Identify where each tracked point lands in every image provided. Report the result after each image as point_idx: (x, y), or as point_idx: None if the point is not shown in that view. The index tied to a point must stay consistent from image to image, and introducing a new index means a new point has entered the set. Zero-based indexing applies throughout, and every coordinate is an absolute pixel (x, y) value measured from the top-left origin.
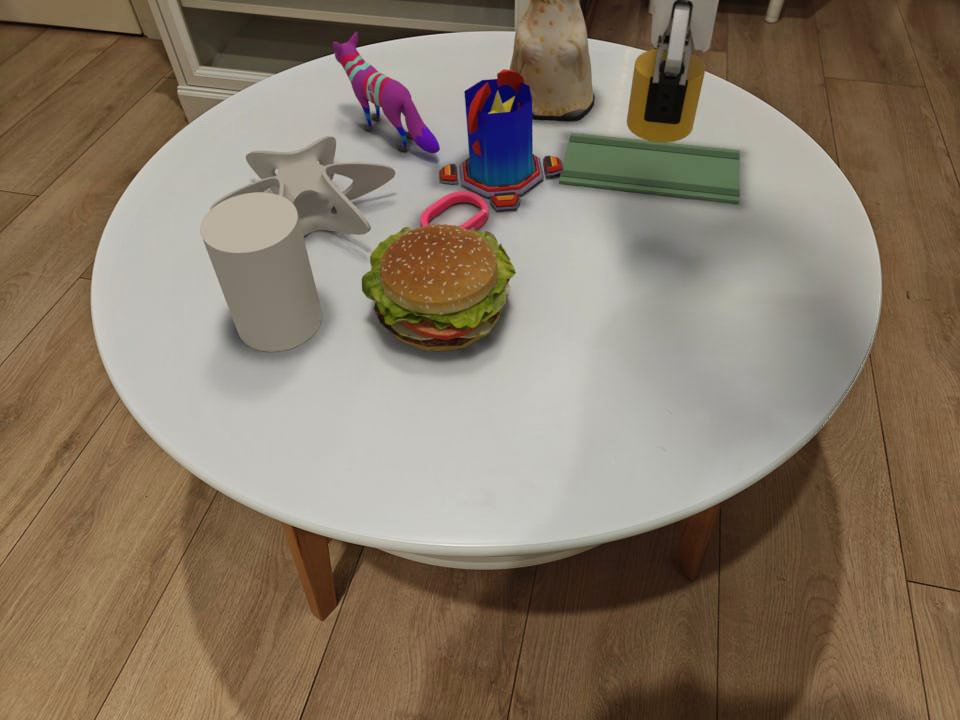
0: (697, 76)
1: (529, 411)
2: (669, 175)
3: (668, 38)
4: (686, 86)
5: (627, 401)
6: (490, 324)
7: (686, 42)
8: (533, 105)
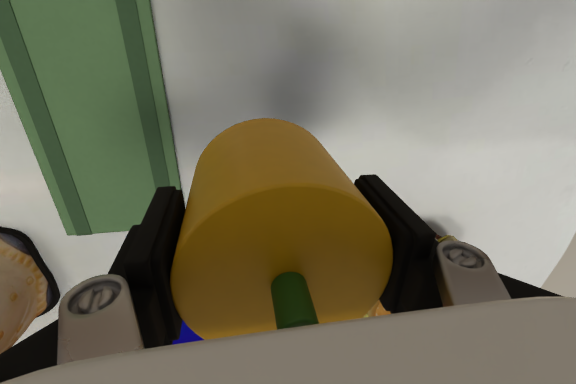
0: (356, 203)
1: (504, 180)
2: (113, 88)
3: (161, 337)
4: (428, 228)
5: (509, 103)
6: (446, 237)
7: (142, 277)
8: (38, 294)
